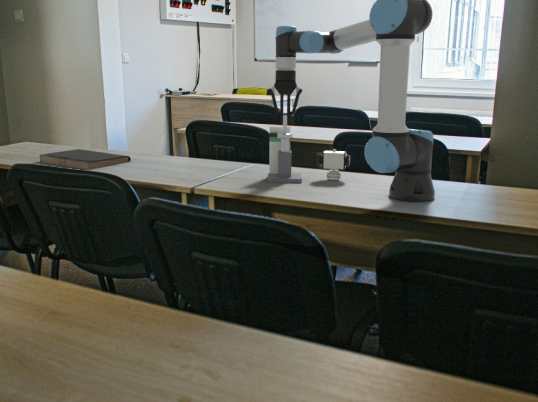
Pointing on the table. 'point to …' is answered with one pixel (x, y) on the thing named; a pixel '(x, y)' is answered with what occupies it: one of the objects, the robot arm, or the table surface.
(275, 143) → the stand
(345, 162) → the pneumatic valve
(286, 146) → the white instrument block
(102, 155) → the brown book
